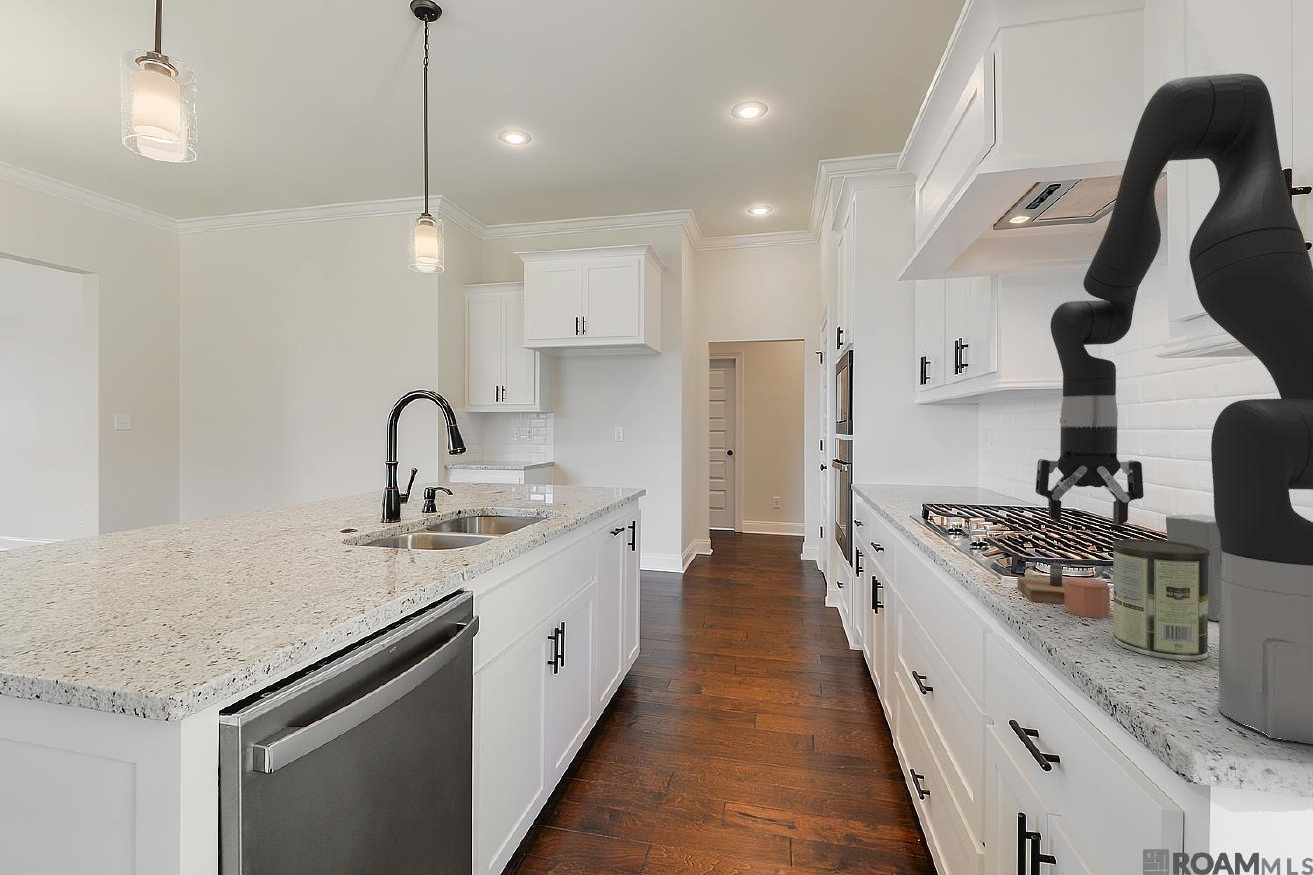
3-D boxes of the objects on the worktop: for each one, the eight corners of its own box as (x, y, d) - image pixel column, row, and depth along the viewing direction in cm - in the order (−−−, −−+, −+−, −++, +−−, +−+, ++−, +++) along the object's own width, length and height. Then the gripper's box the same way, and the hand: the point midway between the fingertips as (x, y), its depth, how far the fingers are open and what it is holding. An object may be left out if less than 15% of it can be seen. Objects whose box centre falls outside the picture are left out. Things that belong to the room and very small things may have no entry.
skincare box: (1254, 622, 94) (1256, 520, 93) (1207, 622, 94) (1208, 520, 94) (1206, 606, 102) (1207, 512, 102) (1163, 606, 102) (1164, 512, 102)
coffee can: (1153, 632, 90) (1154, 537, 89) (1230, 658, 79) (1231, 551, 79) (1092, 636, 88) (1093, 539, 88) (1163, 664, 78) (1164, 554, 77)
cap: (1113, 618, 96) (1113, 587, 95) (1071, 615, 97) (1072, 584, 97) (1100, 608, 101) (1100, 578, 101) (1061, 605, 103) (1061, 576, 103)
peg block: (1099, 606, 102) (1099, 571, 102) (1031, 601, 105) (1031, 567, 105) (1079, 591, 111) (1079, 558, 111) (1017, 586, 115) (1017, 555, 115)
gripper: (1044, 424, 97) (1043, 525, 98) (1151, 424, 93) (1150, 530, 93) (1032, 424, 104) (1031, 518, 105) (1131, 424, 100) (1130, 522, 100)
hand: (1087, 523), depth 99 cm, fingers open, 8 cm apart
